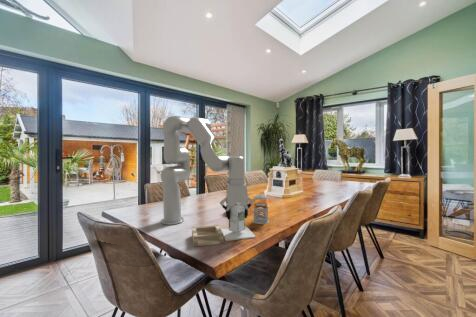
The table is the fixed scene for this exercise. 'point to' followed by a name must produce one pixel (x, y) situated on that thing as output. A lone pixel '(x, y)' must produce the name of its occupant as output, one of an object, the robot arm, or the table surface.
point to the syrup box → (237, 218)
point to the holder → (207, 235)
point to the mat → (237, 234)
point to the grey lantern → (260, 210)
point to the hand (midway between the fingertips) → (236, 217)
